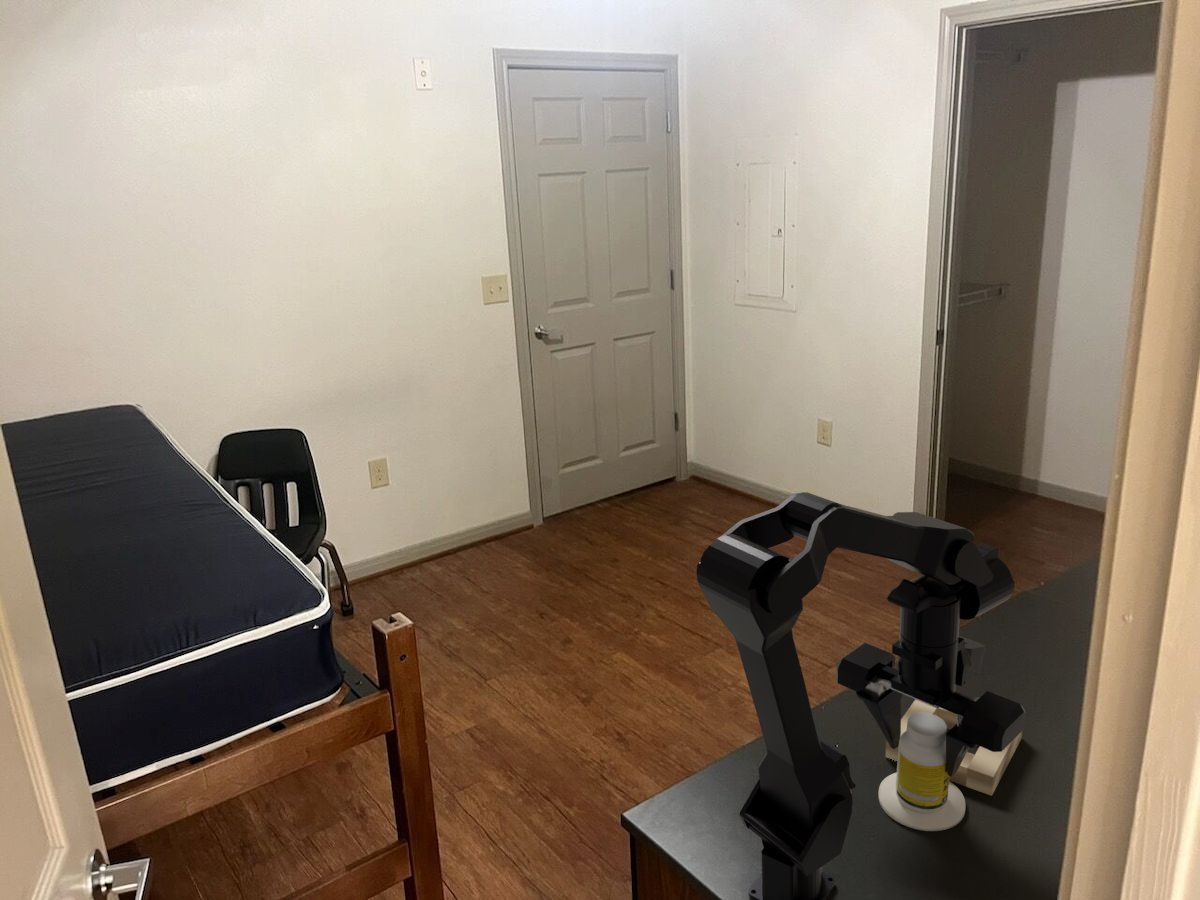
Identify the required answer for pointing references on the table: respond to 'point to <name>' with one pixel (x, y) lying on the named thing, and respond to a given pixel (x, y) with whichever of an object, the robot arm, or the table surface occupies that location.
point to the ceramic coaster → (919, 820)
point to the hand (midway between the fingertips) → (922, 760)
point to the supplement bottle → (923, 764)
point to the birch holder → (975, 768)
